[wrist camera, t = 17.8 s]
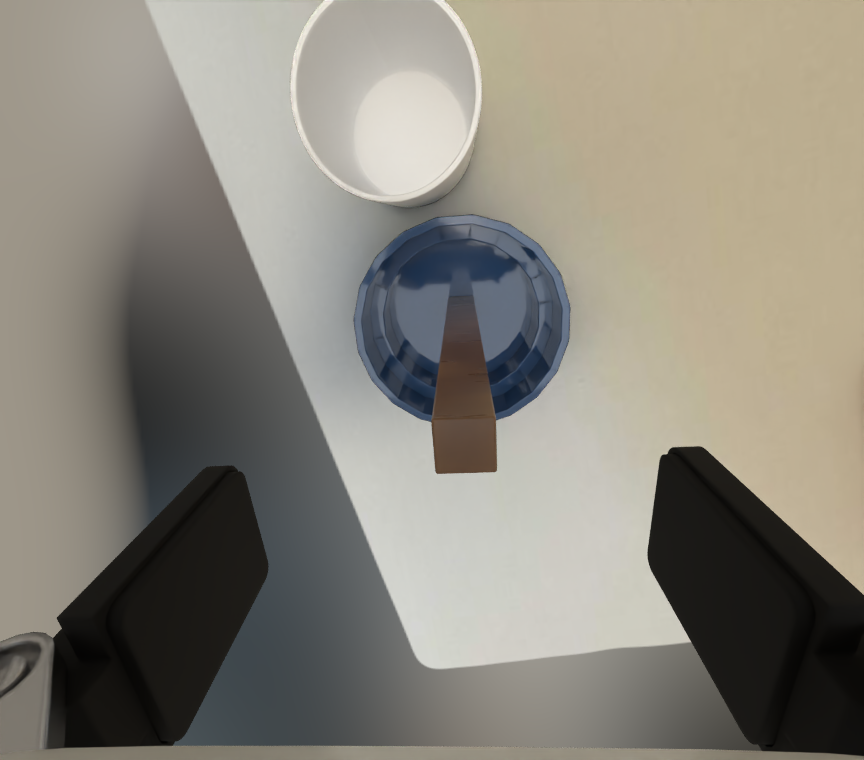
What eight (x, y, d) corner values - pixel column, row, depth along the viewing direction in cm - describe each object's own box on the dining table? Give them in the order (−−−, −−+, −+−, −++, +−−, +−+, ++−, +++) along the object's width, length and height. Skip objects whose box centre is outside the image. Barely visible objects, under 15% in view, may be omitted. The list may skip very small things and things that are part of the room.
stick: (449, 321, 31) (435, 475, 12) (448, 296, 31) (431, 419, 12) (474, 320, 31) (497, 473, 12) (473, 295, 30) (495, 417, 12)
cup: (374, 225, 30) (334, 227, 20) (303, 25, 26) (213, -87, 16) (489, 183, 28) (504, 164, 19) (432, -34, 24) (416, -194, 15)
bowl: (383, 395, 34) (368, 430, 29) (362, 224, 30) (339, 225, 24) (548, 387, 33) (566, 422, 28) (552, 208, 29) (574, 206, 23)
